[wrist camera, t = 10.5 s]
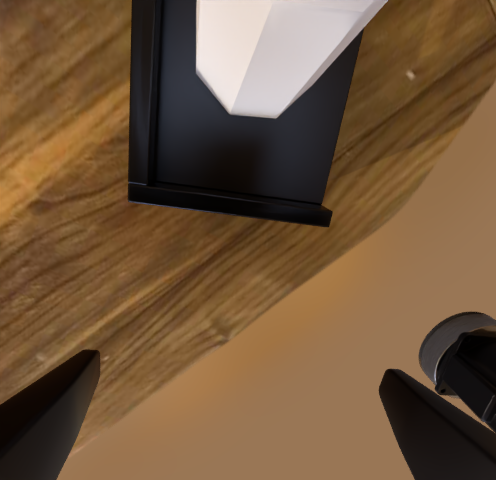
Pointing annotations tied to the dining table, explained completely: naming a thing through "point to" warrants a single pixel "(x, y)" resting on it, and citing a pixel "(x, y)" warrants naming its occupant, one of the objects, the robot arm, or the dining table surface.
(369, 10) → the salt shaker
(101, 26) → the dining table surface
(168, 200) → the black open box
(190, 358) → the dining table surface
